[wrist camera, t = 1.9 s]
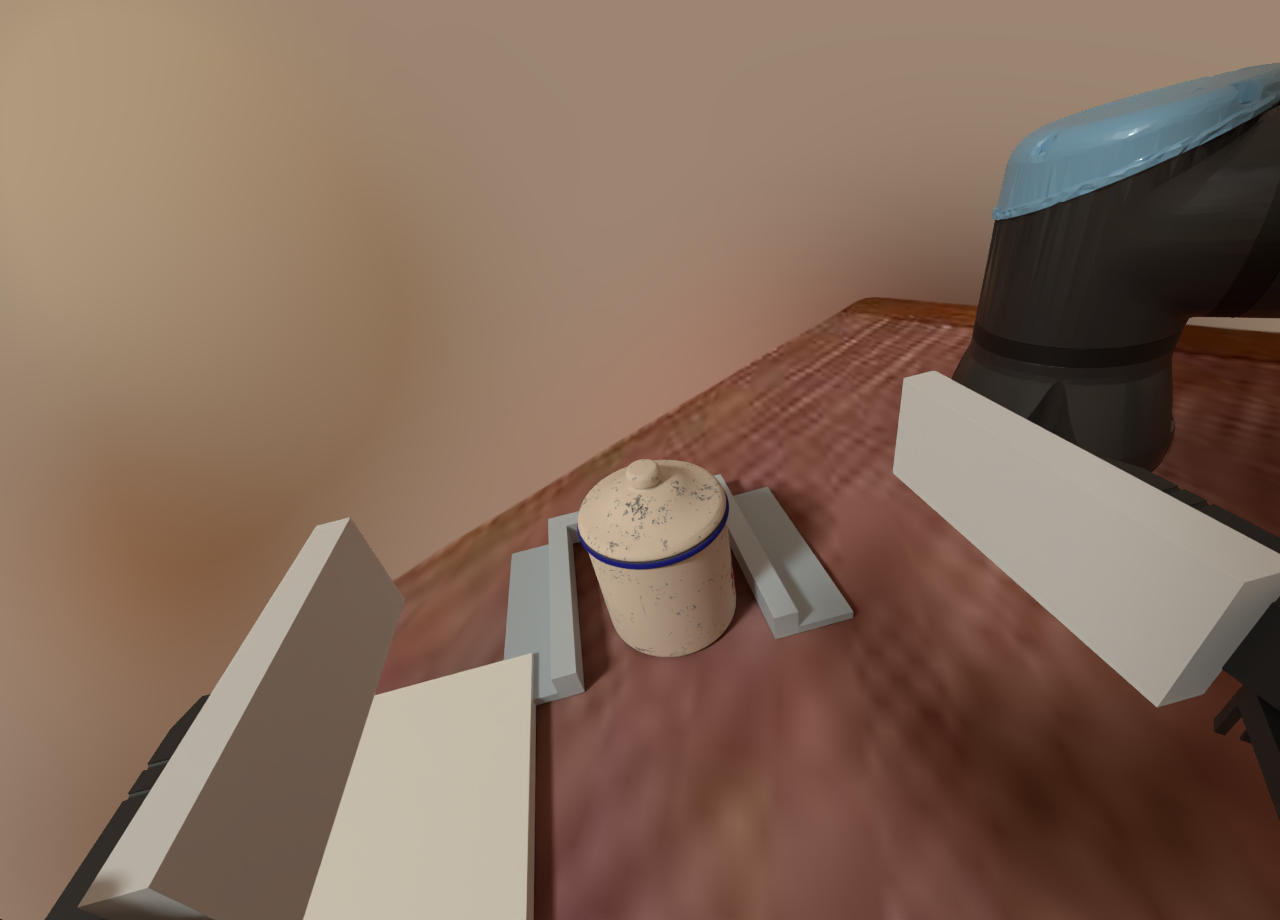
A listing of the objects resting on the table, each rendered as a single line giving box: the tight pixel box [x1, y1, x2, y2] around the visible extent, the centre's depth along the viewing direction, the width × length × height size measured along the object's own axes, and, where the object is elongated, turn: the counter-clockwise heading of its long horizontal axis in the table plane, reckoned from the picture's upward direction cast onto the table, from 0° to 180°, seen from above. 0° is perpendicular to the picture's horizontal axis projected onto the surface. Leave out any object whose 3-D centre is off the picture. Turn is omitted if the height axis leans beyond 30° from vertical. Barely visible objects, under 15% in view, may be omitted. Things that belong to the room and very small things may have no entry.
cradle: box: [504, 474, 853, 705], centre depth 35 cm, size 22×15×2 cm
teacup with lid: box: [577, 459, 736, 657], centre depth 31 cm, size 12×9×12 cm
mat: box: [303, 653, 536, 920], centre depth 25 cm, size 14×14×1 cm
